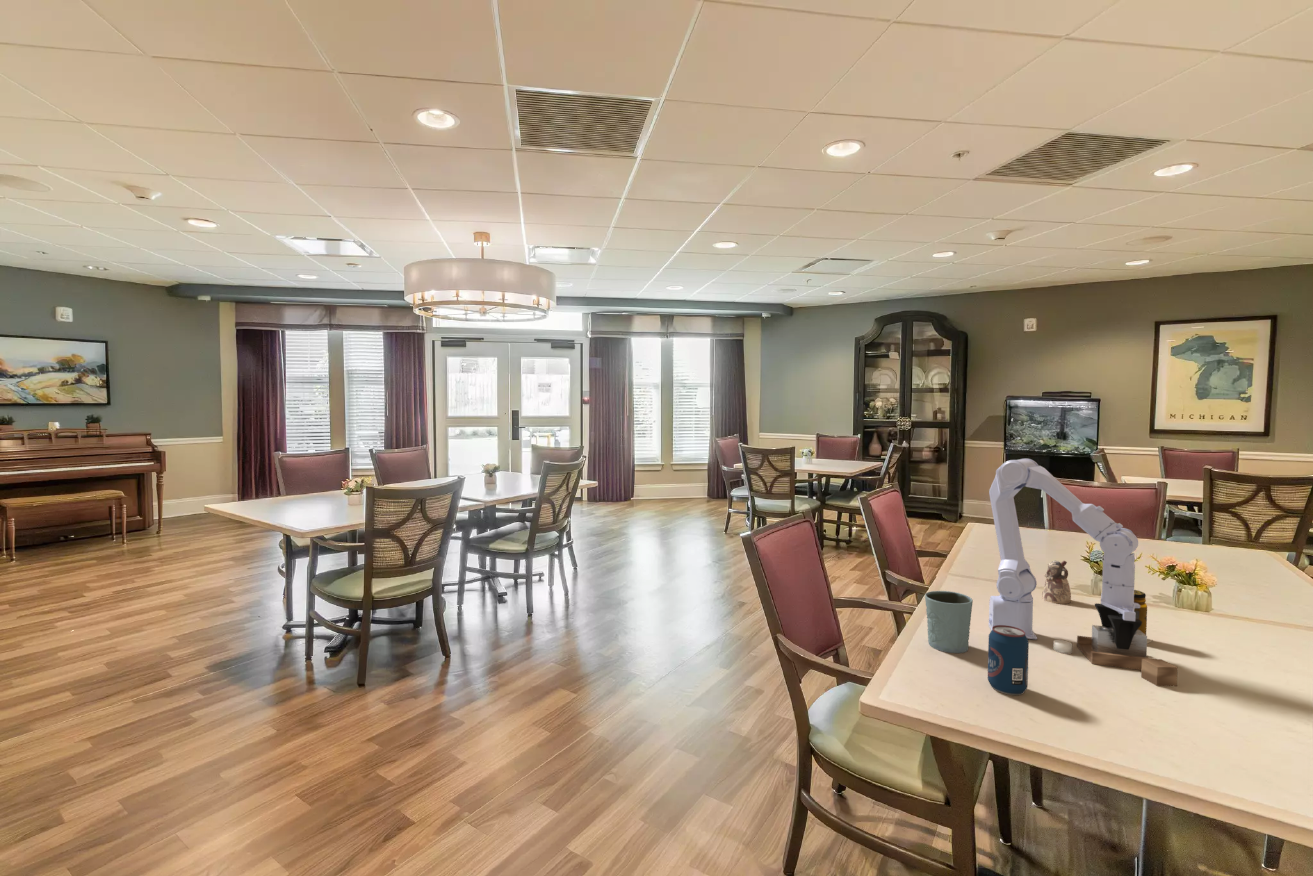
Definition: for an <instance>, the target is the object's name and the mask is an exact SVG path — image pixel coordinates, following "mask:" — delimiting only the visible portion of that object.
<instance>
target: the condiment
mask: <svg viewBox="0 0 1313 876" xmlns="http://www.w3.org/2000/svg"><path fill="white" fill-rule="evenodd" d="M1146 597H1147V595H1146V593H1145V592H1143V591H1140V590H1139V589H1138V590H1136V589H1134V603H1138V604H1139V605H1140V608H1135V609H1134V612H1135V613H1136V615H1135V619H1139V620H1140V621H1142V625H1141V626H1140V627H1139V628H1138V629H1137V630H1140V631H1142V632H1143V633H1144V634H1145V635H1146V636H1147V624H1148V622H1147V621H1148V618H1147V617H1148V605H1147V603H1146V601H1147V600H1146ZM1151 642H1153V639H1150V638H1147V645H1148V644H1149V643H1151Z"/></svg>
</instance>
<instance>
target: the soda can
mask: <svg viewBox="0 0 1313 876" xmlns="http://www.w3.org/2000/svg"><path fill="white" fill-rule="evenodd" d="M987 647H988V650H987V652H988V654H987V682H988V683H989V685H990V686H991V688H992V689H994V690H995V691H997V692H998V693H1002V694H1003V695H1004V694H1005V695H1009V696H1020V695H1021V696H1022V695H1023V693H1024V692H1026V690H1027V688H1028V683H1029V681H1028V679H1029V675H1028V674H1029V640H1028V639H1027V638H1026V636H1025V632H1024V631H1023V630H1021V629H1019V628H1016V627H1012V626H1006V625H996V626H993V627H992V630H990V632H989V634H988V646H987Z"/></svg>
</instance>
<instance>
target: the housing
mask: <svg viewBox="0 0 1313 876" xmlns="http://www.w3.org/2000/svg"><path fill="white" fill-rule="evenodd" d="M1091 637H1092V649H1093V650H1094V651H1095V652H1103V653H1111V654H1120V655H1128V656H1136V657H1145V658H1146V656H1147V653H1148V652H1147V649H1148V644H1147V639H1148V635H1147V634H1146V635H1145V634H1144V633H1143V632H1142V631H1140V630H1137V631H1136V632H1135V634H1134V637H1133V639H1132V642H1131V645H1130V648H1129V650H1127V649H1119V648H1117V647H1116V644H1115V637H1114V630H1113V627H1109V626H1102V625H1097V624H1092V625H1091Z"/></svg>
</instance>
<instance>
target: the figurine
mask: <svg viewBox="0 0 1313 876" xmlns="http://www.w3.org/2000/svg"><path fill="white" fill-rule="evenodd" d="M1067 563H1068V562H1067V561H1066V560H1062V561H1059V560H1053V561H1051V562H1050V563H1048V564H1047V571H1046V573H1044V574H1043V576H1044V577H1045V581H1044V586H1043V590H1042V594H1041V595H1042V597H1041V600H1043V601H1045V602H1048V603H1051V604H1057V605H1067V604H1070V603H1071V599H1072V593H1071V588H1070V583H1069V581H1068V577H1069V570H1068V569H1067V568H1066V567H1065V566H1066V565H1067Z"/></svg>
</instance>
